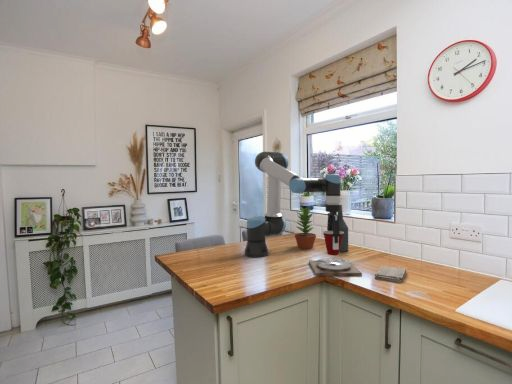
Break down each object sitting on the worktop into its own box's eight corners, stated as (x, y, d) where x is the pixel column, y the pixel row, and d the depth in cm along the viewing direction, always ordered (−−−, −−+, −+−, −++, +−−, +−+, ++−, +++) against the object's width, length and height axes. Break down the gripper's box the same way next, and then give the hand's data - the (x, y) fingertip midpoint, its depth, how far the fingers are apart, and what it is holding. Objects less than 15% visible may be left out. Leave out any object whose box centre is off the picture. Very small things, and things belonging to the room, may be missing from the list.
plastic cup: (341, 251, 154) (341, 229, 153) (346, 257, 143) (346, 233, 143) (321, 251, 155) (321, 229, 154) (323, 256, 144) (323, 233, 144)
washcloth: (373, 279, 134) (373, 273, 134) (380, 269, 149) (380, 263, 149) (402, 284, 128) (402, 277, 127) (406, 273, 143) (406, 267, 143)
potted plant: (290, 246, 203) (290, 203, 202) (309, 244, 208) (309, 203, 207) (299, 250, 189) (299, 205, 188) (320, 248, 194) (320, 204, 193)
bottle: (349, 249, 191) (349, 204, 190) (346, 252, 183) (346, 205, 182) (334, 247, 197) (334, 203, 195) (330, 250, 188) (330, 205, 187)
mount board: (315, 276, 139) (315, 269, 139) (308, 263, 161) (308, 256, 161) (361, 276, 138) (361, 268, 138) (348, 263, 160) (348, 256, 160)
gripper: (346, 205, 137) (346, 252, 138) (335, 202, 159) (335, 242, 160) (330, 205, 137) (330, 252, 138) (321, 202, 159) (321, 242, 160)
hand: (333, 246), depth 149 cm, fingers closed on plastic cup, 10 cm apart
